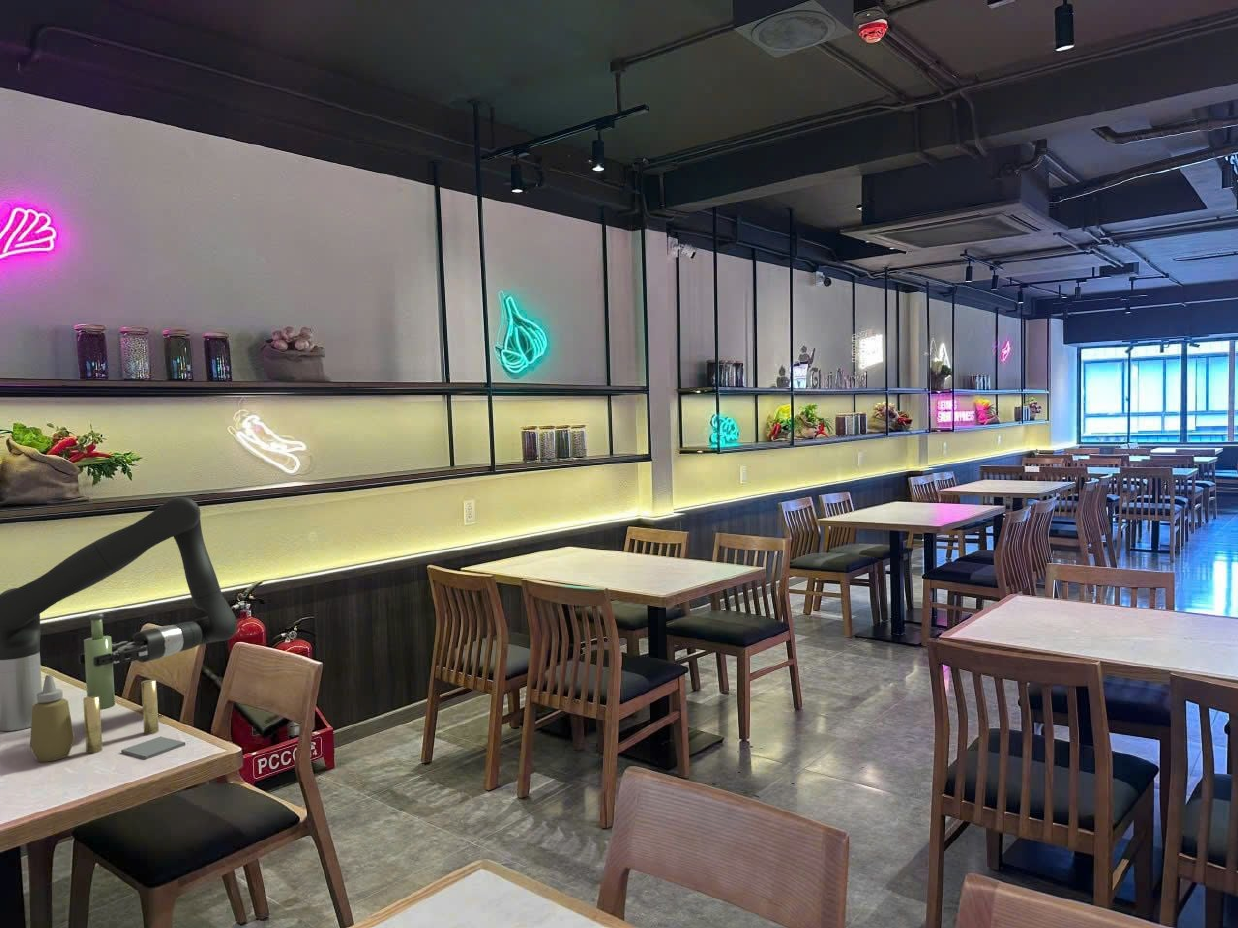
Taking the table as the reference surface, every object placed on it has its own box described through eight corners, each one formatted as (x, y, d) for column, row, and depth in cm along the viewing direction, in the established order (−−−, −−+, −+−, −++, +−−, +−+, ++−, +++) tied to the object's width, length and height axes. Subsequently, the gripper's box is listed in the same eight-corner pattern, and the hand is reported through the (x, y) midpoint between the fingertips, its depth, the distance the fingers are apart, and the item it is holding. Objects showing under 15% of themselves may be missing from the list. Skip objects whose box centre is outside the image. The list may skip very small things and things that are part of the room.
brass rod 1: (83, 752, 184) (80, 698, 184) (97, 747, 187) (94, 694, 187) (91, 754, 183) (88, 700, 182) (105, 749, 186) (102, 696, 185)
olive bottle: (82, 708, 194) (77, 616, 193) (106, 701, 198) (101, 611, 198) (96, 711, 191) (90, 618, 190) (120, 704, 196) (114, 613, 195)
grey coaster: (121, 752, 183) (121, 749, 183) (160, 738, 191) (160, 736, 191) (146, 759, 179) (145, 756, 179) (185, 744, 187) (185, 742, 187)
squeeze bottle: (47, 766, 177) (43, 682, 176) (21, 762, 180) (16, 679, 179) (84, 752, 184) (79, 671, 184) (58, 748, 187) (53, 669, 187)
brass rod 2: (141, 733, 196) (138, 682, 195) (153, 728, 198) (151, 678, 198) (149, 734, 194) (146, 683, 194) (161, 730, 197) (158, 680, 196)
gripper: (139, 625, 210) (68, 641, 195) (174, 630, 203) (104, 647, 188) (140, 655, 210) (70, 673, 196) (176, 660, 204) (106, 680, 189)
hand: (87, 660), depth 192 cm, fingers closed on olive bottle, 5 cm apart
